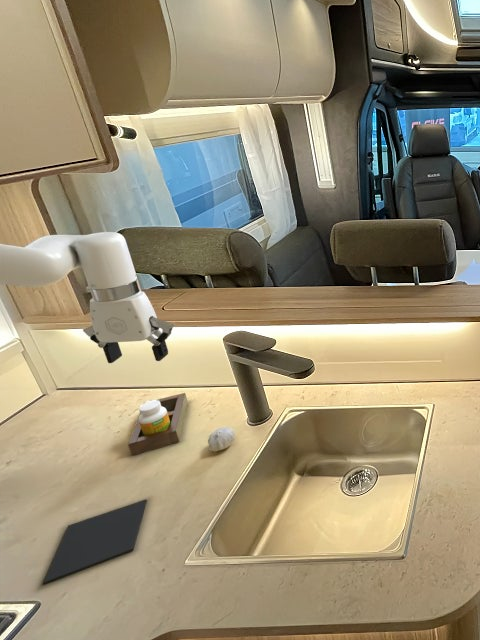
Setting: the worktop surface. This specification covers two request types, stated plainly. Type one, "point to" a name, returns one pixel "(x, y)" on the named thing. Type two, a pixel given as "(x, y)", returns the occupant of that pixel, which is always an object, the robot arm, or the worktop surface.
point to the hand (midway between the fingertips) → (139, 358)
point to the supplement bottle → (153, 418)
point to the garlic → (221, 439)
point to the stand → (162, 438)
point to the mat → (97, 540)
